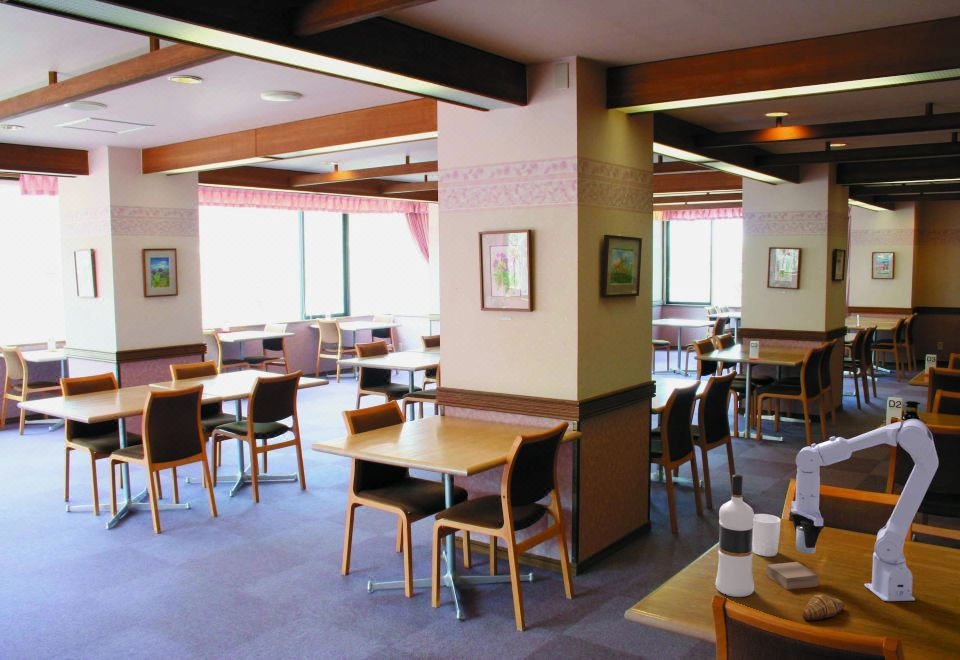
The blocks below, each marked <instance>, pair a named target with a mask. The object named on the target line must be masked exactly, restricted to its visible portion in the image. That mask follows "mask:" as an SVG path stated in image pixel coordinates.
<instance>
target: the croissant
mask: <svg viewBox="0 0 960 660" xmlns="http://www.w3.org/2000/svg"><path fill="white" fill-rule="evenodd" d="M844 603H845V602H844V601H842V600H840V599H839V598H835V597H831V596H829V595H826V594H814V595H812V596H811V597H810V599H809V601H808V603H807V604H806V605H805V607H804V610H803V613H802V618H803V620H805V621H813V622H814V621H820V620H823V619H829V618H833V617H834V616H836V615H837V614H840V613H841V612H842V611H843V609H844V606H845V604H844Z"/></svg>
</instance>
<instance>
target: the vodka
mask: <svg viewBox="0 0 960 660" xmlns="http://www.w3.org/2000/svg"><path fill="white" fill-rule="evenodd" d="M743 477H744V476H743V475H741V474H736V473H735V474H732V475H731V499H730V500H728V501H727V502H725V503H723V504H722V505H721V506H720V507H719V511H718V512H719V513H718V515H719V516H718V517H719V520H718V524H719V529H718V530H719V532H718V533H719V534H718V536H719V539H718V541H719V542H718V543H719V544H718V551H717V553H718V565H717V573H716V578H715V587H716V590H717V591H718V592H719V593H721V594H723V595H725V594H726V596H727V597H729V596H730V597H734V598H742V597H743V598H745V597H748V596H750V595H752V594H753V593H754V591H755V582H754V578H753V577H754V576H753V557H754V552H753V550H752V540H753V526H754V523H753V521H754V515H755V513H754V510H753V508H752V506H750V504H748V503H746V502H744V500H743V489H744V487H743V485H744V482H743V481H744V479H743Z"/></svg>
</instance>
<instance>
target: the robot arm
mask: <svg viewBox="0 0 960 660" xmlns="http://www.w3.org/2000/svg"><path fill="white" fill-rule="evenodd" d="M882 444H887V445H889V446H893V447H897V445H898V444H899V446H900V447H901V448H902V449H903V450H905V451H906V453H908V454H909V455H910V458H912V461H913V462H914V466H913V469H912V471H911V473H910V474H909V476H908V479H907V481H906V483H905V485H904V487H903V490H902V491H901V493H900V496H899V498H898V499H897V500H898V501H897V503H896V505H895V507H894V508H893V511H892V513H891V515H890V517H889V519H888V520H887V522H886V524H885V526H883V527H882V528H880V529H879V530H878V531H877V535H876V541H875V543H874V546H873V549H874V552H873V553H872V570H871V571H872V574H871V583H864V587H865V588H867V589H868V590H869V591H871V592H872V593H873V594H874V595H876V596H877V598H880V599H881V600H882V601H884V602H901V601H903V602H904V601H905V602H907V601H915V600H916V598H915V597H914V596H912V595H913V578H914V577H913V573H912V571H911V570H910V569H909V568H908V566H907V564H906V556H905V555H904V545H905V542H906V541H905V540H906V537H907V534H908V532H909V529H910V527H911V525H912V523H913V520H914V518H915V516H916V514H917V512H918V509H920V506H921V504H922V502H923V500H924V497H925V495H926V493H927V491H928V489H929V487H930V485H931V483H932V480H933V478H934V477H935V474H936V472H937V469H938V468H939V457H938V454H937V450H936V447H935V446H936V445H935V442H934V437H933V433H932V432H931V431H930V429H929V428H928V427H927V425H926V424H925V423H924V422H923V421H921V420H919V419H917V418H910V419H906V420H905V421H903V422H902V421H898V422H893V423H890V424H886V425H884V426H882V427H879V428H876V429H873V430H871V431H867V432H866V433H862V434H860V435H857V436H855V437H852V438H848V439H846V438H844V437H842V436H839V437H836V436H835V435H834V436H831V437H829V440H827V441H824V442H820V443H818V444H816V442H815V443H812V444H810V446H805V447H803V448H801V450H800V451H799V452H798V453H797V454H796V457H795V466H796V467H797V468H796V471H797V473H796V476H795V477H796V478H795V480H796V481H795V500H792V501H791V505H790V506H791V507H790V508H791V509H790V511H789V513H788V514H789V517H790V519H791V520H792V523H793V527H794V532H795V534H796V527H797V526H798V525H800V524H801V525H802V527H803V530H804V537H805V545H806V547H807V548H815V545H817V541H818V539H819V536H820V534H821V532H822V531H823V529H824V528H825V523H824V518H823V517H822V515H821V511H820V509H819V508H820V490H821V489H820V487H821V486H820V485H821V476H820V467H822V466H823V467H827V466H829V465H832V464H835V463H839V462H842V461H845V460H848V459H850V458H851V456H852V453H853V452H856V451H861V450H863V449H867V448H872V447H874V446H878V445H882ZM815 549H816V548H815Z"/></svg>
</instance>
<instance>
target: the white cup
mask: <svg viewBox="0 0 960 660" xmlns="http://www.w3.org/2000/svg"><path fill="white" fill-rule="evenodd" d="M753 523H754V526H753V540H752V553H753V554H756V555H758V556H763V557H775V556H776V555H778V547H779V543H780V542H779V541H780V534H781V533H780V531H781V518H780V517H778V516H776V515H773V514H767V513H754V521H753Z"/></svg>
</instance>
